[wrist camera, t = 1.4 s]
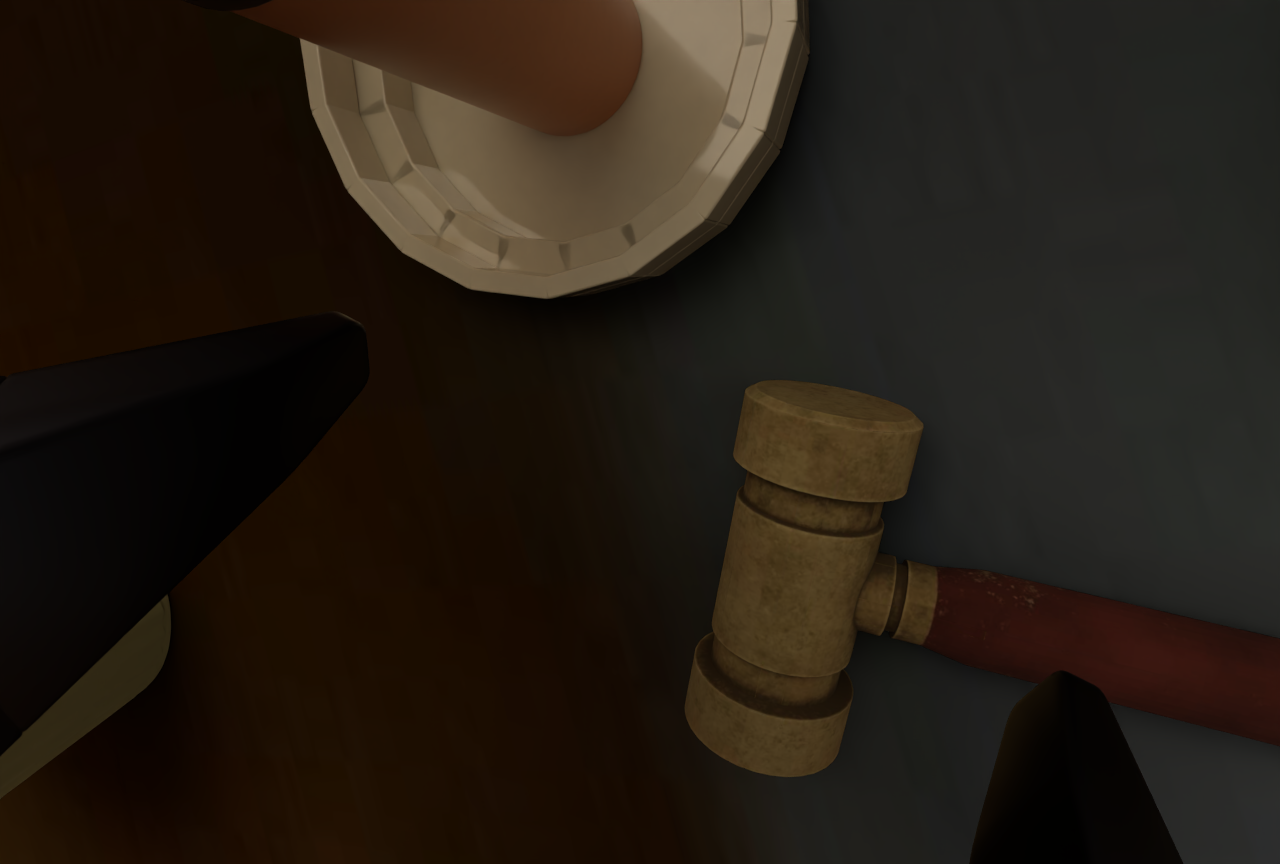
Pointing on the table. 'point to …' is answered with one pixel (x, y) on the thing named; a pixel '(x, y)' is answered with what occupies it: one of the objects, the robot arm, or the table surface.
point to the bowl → (573, 155)
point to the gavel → (911, 601)
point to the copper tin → (481, 50)
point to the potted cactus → (92, 697)
